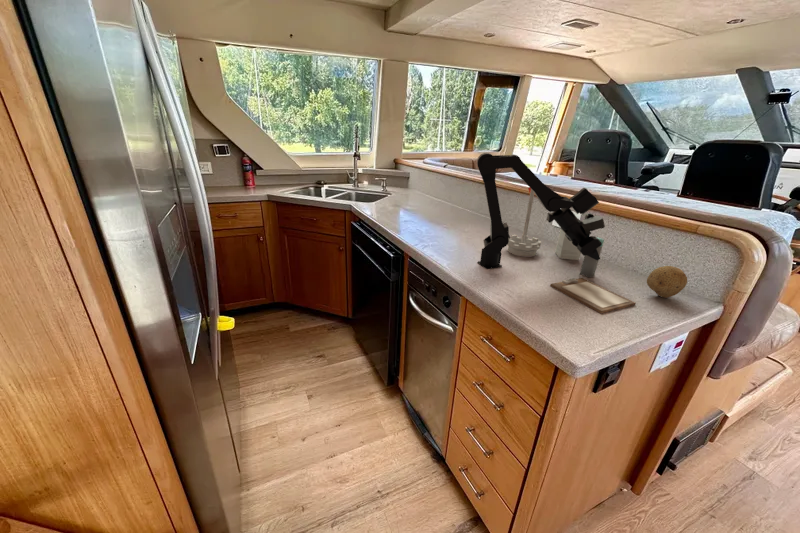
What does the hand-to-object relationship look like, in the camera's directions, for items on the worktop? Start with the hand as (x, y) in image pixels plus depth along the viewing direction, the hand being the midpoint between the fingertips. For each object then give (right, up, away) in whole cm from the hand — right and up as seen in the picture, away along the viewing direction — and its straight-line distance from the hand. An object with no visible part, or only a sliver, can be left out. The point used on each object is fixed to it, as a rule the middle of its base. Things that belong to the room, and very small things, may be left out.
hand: (596, 257), depth 111 cm
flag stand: (-17, +3, +23) cm, 29 cm away
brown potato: (+12, -13, -12) cm, 21 cm away
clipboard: (-9, -12, -12) cm, 19 cm away
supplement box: (0, +1, +19) cm, 19 cm away
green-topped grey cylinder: (-2, -6, +3) cm, 7 cm away
